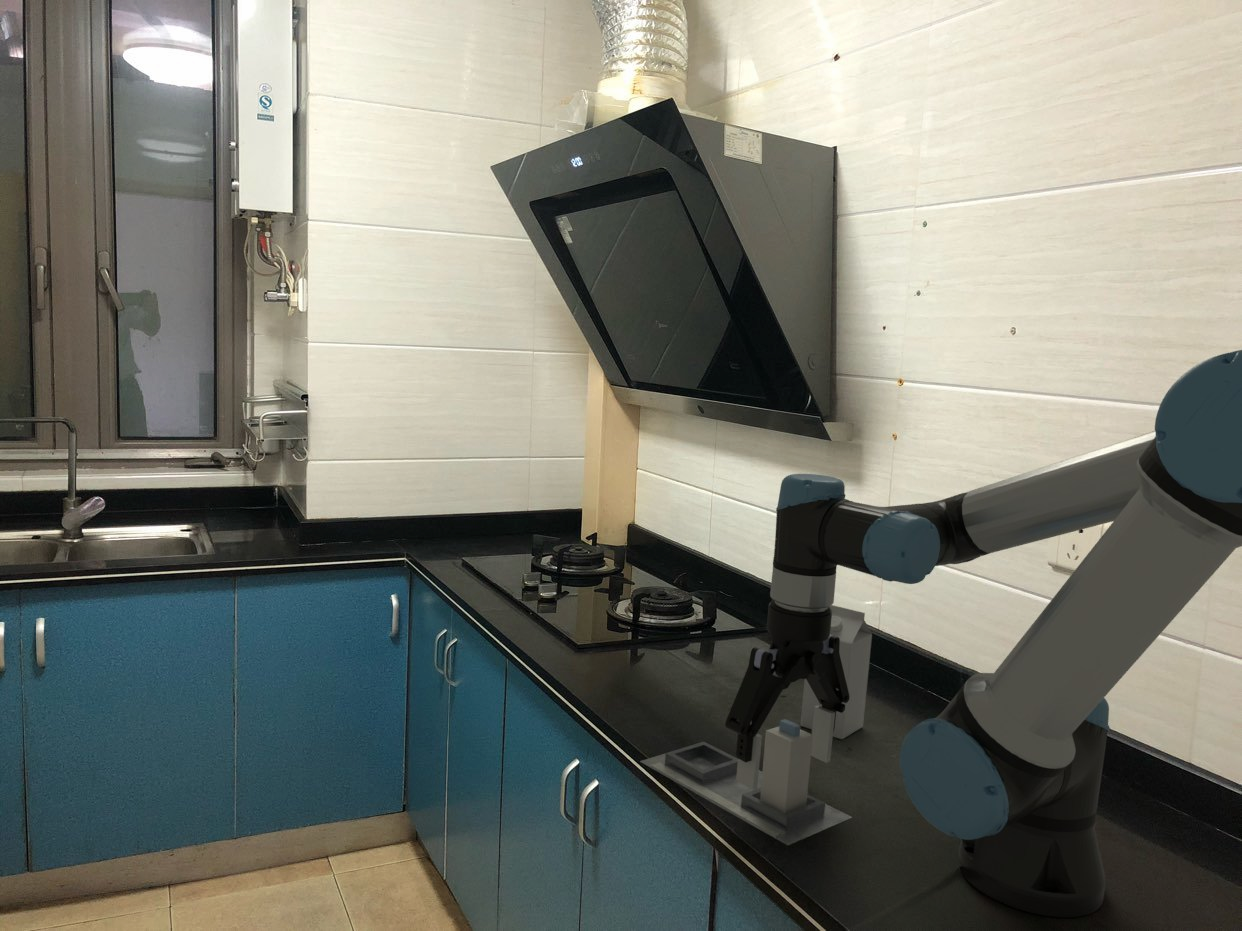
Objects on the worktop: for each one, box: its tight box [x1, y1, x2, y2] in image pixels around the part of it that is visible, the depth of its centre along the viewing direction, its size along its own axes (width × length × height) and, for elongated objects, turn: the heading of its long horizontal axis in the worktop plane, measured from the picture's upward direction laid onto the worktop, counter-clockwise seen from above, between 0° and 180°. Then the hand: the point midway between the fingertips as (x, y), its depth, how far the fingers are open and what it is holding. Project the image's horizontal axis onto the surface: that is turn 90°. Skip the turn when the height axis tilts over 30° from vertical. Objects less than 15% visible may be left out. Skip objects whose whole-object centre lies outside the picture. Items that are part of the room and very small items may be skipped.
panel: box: [639, 741, 853, 846], centre depth 124 cm, size 26×12×2 cm, turn 40°
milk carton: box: [800, 604, 873, 740], centre depth 148 cm, size 7×7×19 cm
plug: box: [760, 718, 813, 814], centre depth 118 cm, size 4×4×11 cm
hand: (784, 771), depth 118 cm, fingers open, 13 cm apart
